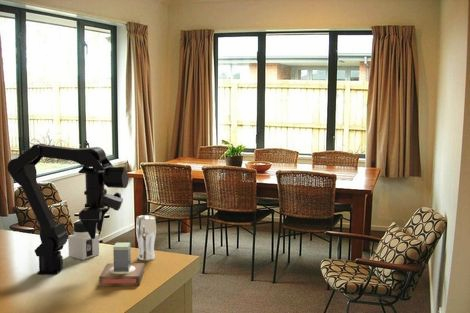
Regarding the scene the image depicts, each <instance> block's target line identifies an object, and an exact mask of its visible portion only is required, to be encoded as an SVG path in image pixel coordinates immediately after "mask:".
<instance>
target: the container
mask: <svg viewBox="0 0 470 313" xmlns="http://www.w3.org/2000/svg"><path fill="white" fill-rule="evenodd" d="M67 236H68V239H67V243H68V245H67V246H68V257H70V258H74V259H78V260H82V261H85V260H87V259H90V258H93V257H96V256H99V255H100V240H99V239H100V234H98V233H96V235H95V239H91V237H90V235H89V233H88V231H87V230H86V228H85V226H84V224H83V223H82V221H81V220H80V219H77V220H75V221H74V222H73V234H70V235H67Z"/></svg>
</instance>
